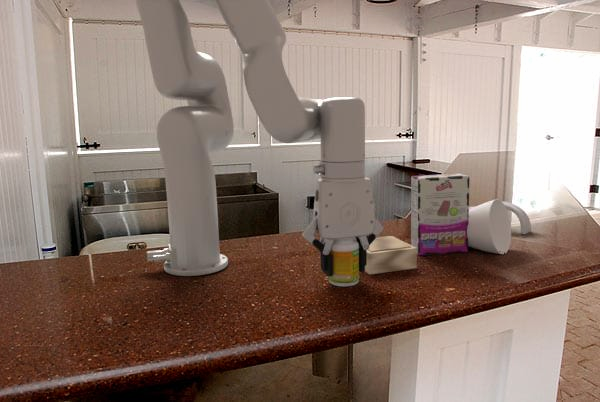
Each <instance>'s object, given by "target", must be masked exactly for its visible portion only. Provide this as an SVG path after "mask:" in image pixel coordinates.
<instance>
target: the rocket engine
mask: <svg viewBox="0 0 600 402" xmlns="http://www.w3.org/2000/svg"><path fill="white" fill-rule="evenodd" d="M473 207H474V208H472V209H470V210H469V222H468V227H467V236H468V248H472V249H476V250H479V251H483V252H487V253H491V254H492V253H493V254H498V255H504V252H505V254H507V252H508V251H509V249H510V245H511V241H512V225H511V219H510V215H509V212H508V209H506V207H505V205H504V203H503V202H502V200H501V199H498V198H496V199H493V200H489V201H486V202H484V203H481V204H479V205H475V206H473ZM499 251H501V252H499ZM502 252H503V253H502Z"/></svg>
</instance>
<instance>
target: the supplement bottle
mask: <svg viewBox="0 0 600 402" xmlns="http://www.w3.org/2000/svg"><path fill="white" fill-rule="evenodd" d="M330 254H332V256H333V276H331V277H328V282H329V283H330V284H331V285H333V286H335V287H352V286H355V285H356V286H357V284H358V283H359V282H360V271H359V244H358V242H357V241H356V240H355V237H352V238H343V239H333V242H332V246H331V249H330Z"/></svg>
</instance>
